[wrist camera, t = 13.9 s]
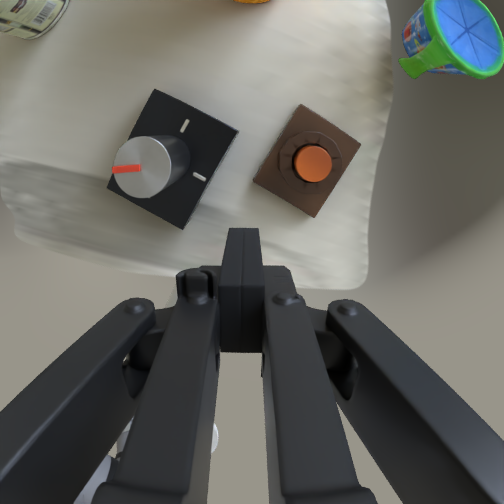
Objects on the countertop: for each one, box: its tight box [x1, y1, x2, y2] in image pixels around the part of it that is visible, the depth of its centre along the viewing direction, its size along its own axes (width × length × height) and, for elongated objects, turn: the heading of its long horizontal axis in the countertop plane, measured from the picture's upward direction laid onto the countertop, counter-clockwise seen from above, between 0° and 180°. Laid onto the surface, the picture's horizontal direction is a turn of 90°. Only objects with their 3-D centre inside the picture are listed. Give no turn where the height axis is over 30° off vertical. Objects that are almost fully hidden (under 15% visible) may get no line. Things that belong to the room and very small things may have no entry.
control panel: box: [107, 89, 239, 230], centre depth 32 cm, size 12×10×3 cm
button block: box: [253, 104, 361, 218], centre depth 32 cm, size 10×8×3 cm
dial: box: [112, 135, 190, 198], centre depth 26 cm, size 5×5×8 cm
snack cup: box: [399, 0, 504, 79], centre depth 23 cm, size 16×10×10 cm
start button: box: [294, 146, 332, 182], centre depth 30 cm, size 4×4×2 cm
